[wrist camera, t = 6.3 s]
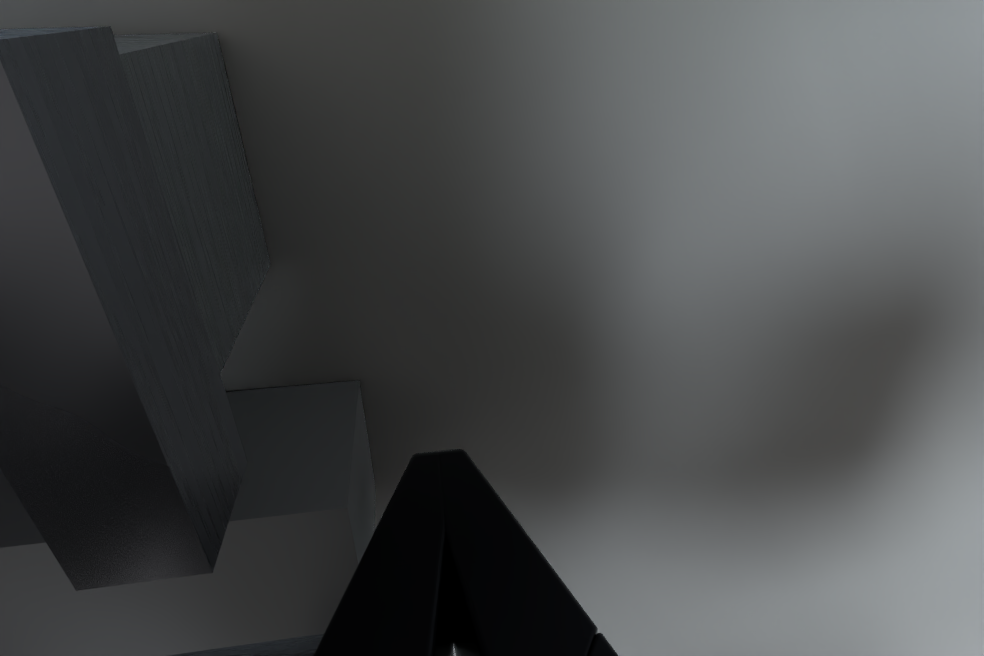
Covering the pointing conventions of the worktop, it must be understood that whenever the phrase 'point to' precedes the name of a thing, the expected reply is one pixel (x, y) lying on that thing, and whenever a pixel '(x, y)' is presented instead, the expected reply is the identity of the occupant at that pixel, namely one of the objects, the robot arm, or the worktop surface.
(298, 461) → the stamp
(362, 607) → the robot arm
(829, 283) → the worktop surface
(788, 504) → the worktop surface
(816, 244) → the worktop surface
